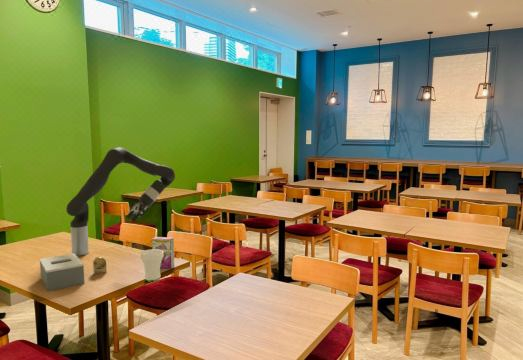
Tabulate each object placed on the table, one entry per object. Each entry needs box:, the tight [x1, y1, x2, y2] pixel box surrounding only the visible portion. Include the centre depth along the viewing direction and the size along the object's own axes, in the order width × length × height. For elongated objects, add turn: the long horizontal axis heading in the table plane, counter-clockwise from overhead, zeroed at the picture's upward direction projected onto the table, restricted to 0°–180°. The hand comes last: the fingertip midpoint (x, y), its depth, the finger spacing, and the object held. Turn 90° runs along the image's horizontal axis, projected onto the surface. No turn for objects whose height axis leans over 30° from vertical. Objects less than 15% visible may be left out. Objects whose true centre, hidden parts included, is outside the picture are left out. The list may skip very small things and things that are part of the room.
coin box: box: [39, 253, 85, 292], centre depth 191 cm, size 20×16×10 cm
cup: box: [140, 248, 164, 283], centre depth 193 cm, size 11×11×14 cm
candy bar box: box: [151, 236, 175, 269], centre depth 211 cm, size 11×5×16 cm, turn 84°
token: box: [92, 256, 107, 276], centre depth 202 cm, size 2×6×8 cm, turn 127°
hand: (129, 219), depth 209 cm, fingers open, 8 cm apart
